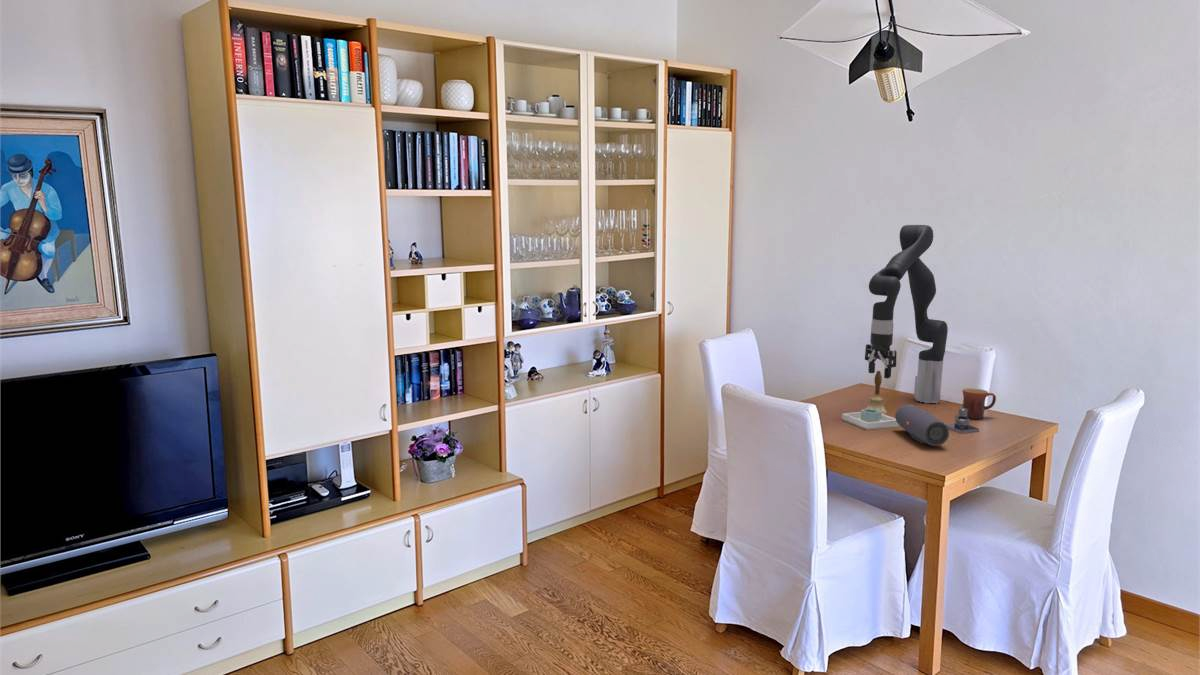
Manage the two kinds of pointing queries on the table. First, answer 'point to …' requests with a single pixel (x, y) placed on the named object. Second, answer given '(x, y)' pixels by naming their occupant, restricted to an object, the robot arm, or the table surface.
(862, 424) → the tray
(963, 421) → the stand
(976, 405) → the mug
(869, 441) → the table surface
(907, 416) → the bluetooth speaker
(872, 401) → the hand bell
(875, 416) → the ring
